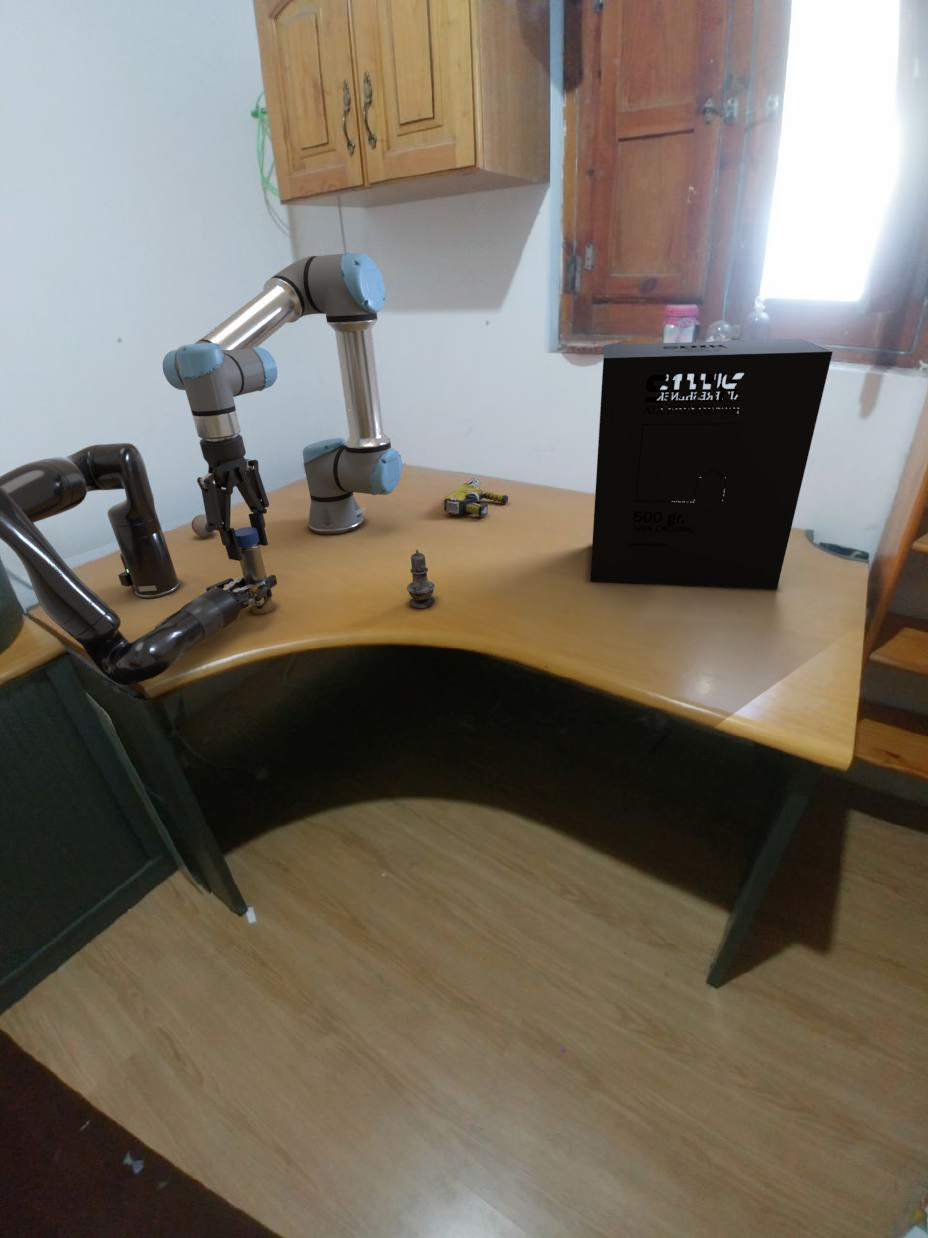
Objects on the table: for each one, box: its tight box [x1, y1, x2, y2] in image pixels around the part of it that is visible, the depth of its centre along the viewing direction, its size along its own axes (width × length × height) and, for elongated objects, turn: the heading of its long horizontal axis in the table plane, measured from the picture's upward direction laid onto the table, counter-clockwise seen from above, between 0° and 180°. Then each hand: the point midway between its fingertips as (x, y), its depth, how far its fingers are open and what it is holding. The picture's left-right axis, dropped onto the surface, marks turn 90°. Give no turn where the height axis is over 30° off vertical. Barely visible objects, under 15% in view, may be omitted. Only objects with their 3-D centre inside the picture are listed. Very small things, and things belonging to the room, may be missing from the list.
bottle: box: [239, 543, 275, 615], centre depth 124 cm, size 4×4×17 cm
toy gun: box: [443, 478, 509, 519], centre depth 176 cm, size 5×24×15 cm
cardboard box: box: [589, 338, 834, 590], centre depth 125 cm, size 38×20×45 cm, turn 78°
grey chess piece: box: [406, 549, 436, 609], centre depth 124 cm, size 6×6×12 cm
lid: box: [234, 526, 259, 547], centre depth 120 cm, size 5×5×2 cm
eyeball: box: [191, 514, 215, 538], centre depth 166 cm, size 6×6×6 cm
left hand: (265, 577), depth 127 cm, fingers closed on bottle, 4 cm apart
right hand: (249, 551), depth 122 cm, fingers open, 7 cm apart
